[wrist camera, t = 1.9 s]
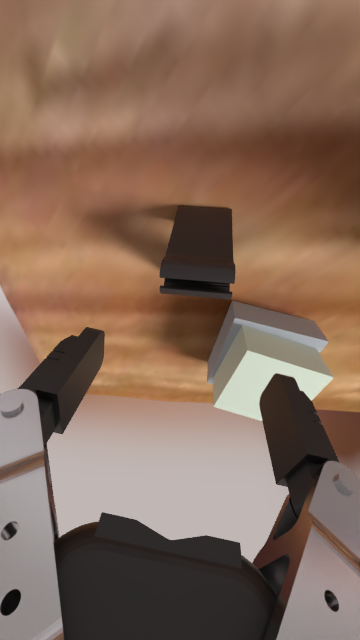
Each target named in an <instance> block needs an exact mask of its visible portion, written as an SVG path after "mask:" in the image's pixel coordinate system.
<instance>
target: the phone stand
mask: <svg viewBox="0 0 360 640" xmlns="http://www.w3.org/2000/svg"><path fill="white" fill-rule="evenodd" d="M160 278H165V282H164V286H160V293H161V294H172V295H183V296H195V297H206V298H217V299H228V300H230V299H231V297H232V292H229V288H230V287H229V286H230V283H232V284H234V282H235V264H234V262H233V240H232V209H221V208H204V207H188V206H179V207H178V211H177V214H176V218H175V222H174V226H173V230H172V234H171V237H170V241H169V245H168V249H167V253H166V256H165V257H164V258H163V260H162V263H161V268H160Z"/></svg>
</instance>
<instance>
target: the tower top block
mask: <svg viewBox="0 0 360 640" xmlns="http://www.w3.org/2000/svg"><path fill="white" fill-rule="evenodd" d="M276 373H278V374H282V375H286V376H291V377H294V378H295V380H296V382H297V384H298V387H299V389H300V391H303V392H304V393H305V394H306V395H307V396H308V398H309V399H310V400H311V401H312V400H313V399H314V398H315V397H316V395H317V394H318V393H319V392H320V391H321V390H322V389H323V388H324V387H325V386H326V385H327V384H328V383H329V382H330V381H331V380H332V379H333V378H334V377H333V375H332V373H331V372H330V370H329V369H328V367H327V365H326V364H325V362H324V361H323V359H322V357H321V356H320V354H319V352H318V351H317V349H316V348H313V347H310V346H307V345H304V344H301V343H297V342H294V341H291V340H288V339H285V338H282V337H279V336H276V335H272V334H269V333H266V332H263V331H260V330H257V329H254V328H250V327H247V326H244V325H242V326H241V328H240V330H239V332H238V333H237V335H236V337H235V339H234V341H233V343H232V344H231V346H230V348H229V350H228V352H227V354H226V355H225V357H224V359H223V361H222V363H221V365H220V366H219V368H218V370H217V372H216V374H215V376H214V377H213V407H217V408H219V409H223V410H226V411H230V412H233V413H236V414H240V415H243V416H247V417H250V418H253V419H257V420H260V421H263V420H262V416H261V411H260V406H259V402H260V397H261V394H262V392H263V391H264V389H265V388H266V386H267V385H268V383H269V381H270V380H271V378H272V377H273V375H274V374H276Z"/></svg>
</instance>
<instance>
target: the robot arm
mask: <svg viewBox="0 0 360 640" xmlns="http://www.w3.org/2000/svg"><path fill="white" fill-rule="evenodd" d="M104 336H105V334H104V331H102V330H98V329H93V328H89V327H86V328H85V329H84V330H83V332H82V333H81V334H80V335H79V336H78V337H77V336H73V335H71V336H70V337H68V338H66V339H64V340H62V341H61V342H60V343H59V344H58V345H57V346H56V347H55V348H54V349H53V352H51V353H50V354H49V355H48V356H47V358H46V359H44V361H43V362H42V363H41V364H40V365H39V366H38V367H37V368H36V369H35V371H34V372H33V373H32V374H31V375H30V376H29V377H28V378H27V379H26V381H25V382H24V383H23V384H22V385H21V386H20V387H19V388H18V389H14V390H10V391H7V392H4V393H2V394H0V640H360V479H359V478H358V477H357V476H356V475H355V473H354V472H352V471H351V470H350V469H349V468H348V467H346V466H345V465H343V464H341V463H340V462H339V461H338V459H337V456H336V454H335V452H334V449H333V447H332V445H331V443H330V441H329V439H328V436H327V434H326V432H325V430H324V427H323V425H321V421H320V419H319V416H318V415H317V412H316V410H315V407H314V405H313V403H312V401H311V400H310V399H309V398H308V396H307V395H306V394H305V393H304V392H303V391H300V389H299V387H298V384H297V382H296V380H295V378H294V377H291V376H286V375H282V374H278V373H276V374H274V375H273V377H272V378H271V380H270V381H269V383H268V385H267V386H266V388H265V389H264V391H263V392H262V394H261V397H260V402H259V406H260V411H261V416H262V420H263V425H264V430H265V434H266V439H267V444H268V448H269V453H270V457H271V462H272V467H273V471H274V476H275V481H276V484H278V485H282V486H286V487H288V489H289V495H288V496H287V497H286V499H285V501H284V503H283V506H282V508H281V510H280V512H279V515H278V517H277V519H276V521H275V524H274V526H273V528H272V530H271V533H270V535H269V537H268V539H267V541H266V543H265V545H264V546H263V548H262V549H261V550H260V551H259V553H258V554H257V556H256V557H255V559H254V561H253V563H251V562H250V561H248V560H247V559H246V558H245V557H243V556H242V555H241V549H240V543H238V542H233V541H229V540H224V539H220V538H215V537H211V536H200V537H193V538H186V539H179V540H168V539H166V538H165V537H163V536H161V535H160V534H158V533H157V532H155V531H153V530H152V529H150V528H148V527H147V526H145V525H144V524H142V523H140V522H139V521H137V520H134V519H129V518H125V517H120V516H116V515H112V514H107V513H102V514H101V517H100V520H99V522H93V523H89V524H85V525H82V526H79V527H77V528H75V529H73V530H71V531H69V532H67V533H66V534H64V535H62V536H61V537H60V538H59V531H58V523H57V516H56V509H55V503H54V496H53V489H52V481H51V474H50V466H49V458H48V450H47V441H48V440H49V438H50V437H51V435H52V433H53V432H56V433H60V434H63V432H64V430H65V429H66V427H67V425H68V424H69V422H70V420H71V418H72V417H73V415H74V413H75V411H76V410H77V408H78V406H79V404H80V403H81V401H82V399H83V397H84V396H85V394H86V392H87V390H88V388H89V387H90V385H91V383H92V381H93V380H94V378H95V376H96V374H97V373H98V371H99V369H100V367H101V365H102V362H103V357H104Z"/></svg>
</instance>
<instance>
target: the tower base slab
mask: <svg viewBox="0 0 360 640" xmlns="http://www.w3.org/2000/svg"><path fill="white" fill-rule="evenodd" d="M242 325H244V326H247V327H250V328H254V329H257V330H260V331H263V332H266V333H269V334H272V335H276V336H279V337H282V338H285V339H288V340H291V341H294V342H297V343H301V344H304V345H307V346H310V347H313V348H316V349H317V351H318V352H319V354H320V352H321V351H322V350H323V348H324V347H325V346H326V344H327V343H328V342H329V341H328V340H327V338H326V337H325V336H324V334H323V333H322V331H321V330H320V329H319V327H318V326H317V324H316V323H315V321H311V320H307V319H303V318H299V317H295V316H291V315H288V314H284V313H280V312H276V311H272V310H268V309H264V308H260V307H256V306H252V305H248V304H244V303H240V302H236V301H233V300H232V302H231V304H230V307H229V309H228V312H227V314H226V317H225V320H224V322H223V325H222V327H221V330H220V332H219V335H218V337H217V340H216V342H215V345H214V347H213V350H212V352H211V355H210V357H209V360H208V377H207V383H210V384H213V377H214V376H215V374H216V372H217V370H218V368H219V366H220V365H221V363H222V361H223V359H224V357H225V355H226V354H227V352H228V350H229V348H230V346H231V344H232V343H233V341H234V339H235V337H236V335H237V333H238V332H239V330H240V328H241V326H242Z"/></svg>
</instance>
